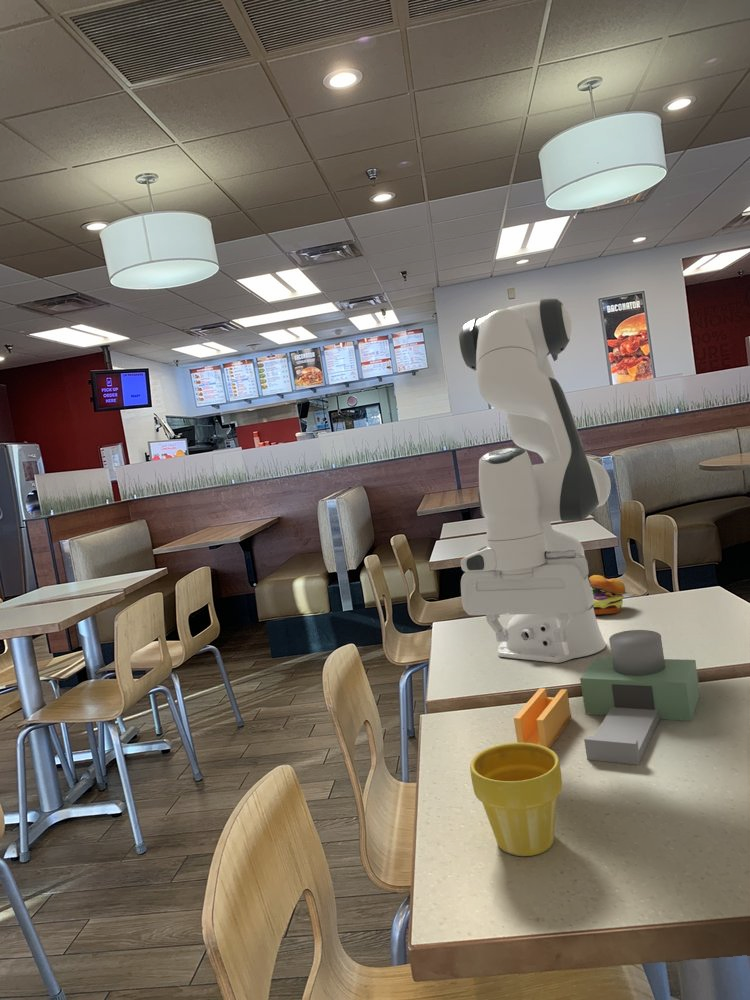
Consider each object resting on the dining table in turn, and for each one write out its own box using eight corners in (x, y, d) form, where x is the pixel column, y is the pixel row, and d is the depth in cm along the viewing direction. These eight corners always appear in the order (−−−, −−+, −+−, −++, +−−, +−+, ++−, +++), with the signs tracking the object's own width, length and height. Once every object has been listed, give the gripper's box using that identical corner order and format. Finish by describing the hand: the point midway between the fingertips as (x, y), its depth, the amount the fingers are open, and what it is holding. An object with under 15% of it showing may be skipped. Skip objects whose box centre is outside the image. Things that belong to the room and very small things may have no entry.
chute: (518, 749, 106) (513, 718, 105) (544, 717, 116) (539, 688, 115) (547, 752, 103) (542, 720, 103) (571, 719, 113) (567, 689, 113)
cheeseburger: (570, 613, 172) (572, 573, 173) (604, 613, 177) (606, 574, 177) (598, 619, 163) (600, 576, 164) (633, 619, 167) (635, 577, 168)
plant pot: (550, 808, 88) (538, 734, 87) (586, 853, 78) (573, 769, 77) (471, 827, 86) (459, 752, 86) (498, 876, 76) (484, 791, 76)
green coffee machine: (556, 756, 101) (545, 683, 100) (601, 690, 122) (592, 629, 121) (673, 768, 92) (662, 688, 92) (700, 695, 113) (691, 630, 113)
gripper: (591, 545, 104) (604, 634, 105) (467, 553, 115) (480, 634, 116) (579, 553, 99) (593, 648, 100) (450, 561, 110) (464, 646, 111)
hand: (531, 641), depth 108 cm, fingers open, 8 cm apart
